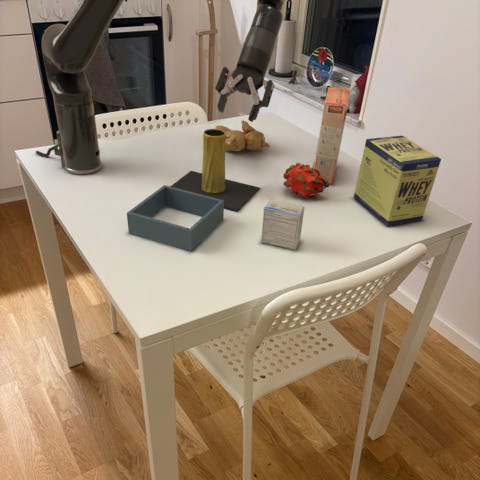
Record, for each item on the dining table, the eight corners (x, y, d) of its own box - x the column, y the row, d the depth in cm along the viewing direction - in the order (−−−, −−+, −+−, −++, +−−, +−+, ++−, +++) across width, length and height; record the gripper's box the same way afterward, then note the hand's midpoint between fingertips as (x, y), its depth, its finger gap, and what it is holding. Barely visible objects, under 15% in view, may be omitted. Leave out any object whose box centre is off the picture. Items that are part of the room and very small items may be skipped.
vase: (200, 183, 132) (201, 127, 123) (224, 183, 133) (226, 128, 124) (201, 194, 128) (202, 136, 119) (226, 194, 128) (228, 137, 119)
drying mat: (164, 192, 128) (164, 190, 128) (191, 172, 138) (191, 170, 138) (237, 211, 123) (237, 210, 122) (259, 189, 133) (259, 187, 132)
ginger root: (271, 156, 146) (266, 128, 141) (216, 166, 148) (210, 139, 143) (269, 138, 158) (265, 111, 153) (219, 147, 160) (213, 121, 155)
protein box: (387, 227, 121) (404, 163, 111) (352, 198, 131) (364, 137, 121) (423, 221, 124) (443, 159, 114) (386, 193, 135) (401, 133, 125)
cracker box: (333, 186, 136) (348, 104, 123) (311, 182, 137) (323, 101, 124) (336, 165, 147) (350, 88, 134) (315, 162, 148) (327, 85, 134)
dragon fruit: (278, 193, 135) (321, 209, 133) (274, 186, 127) (319, 203, 125) (291, 162, 134) (334, 177, 132) (287, 153, 126) (333, 169, 124)
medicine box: (300, 241, 114) (305, 205, 108) (295, 251, 110) (300, 214, 105) (266, 233, 115) (269, 198, 110) (260, 243, 112) (263, 207, 107)
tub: (128, 233, 113) (126, 212, 109) (165, 204, 124) (164, 184, 120) (191, 251, 108) (191, 231, 105) (223, 220, 119) (224, 200, 116)
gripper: (286, 65, 130) (263, 128, 133) (235, 51, 134) (215, 113, 136) (280, 52, 123) (256, 119, 126) (227, 38, 126) (205, 103, 129)
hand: (235, 116), depth 131 cm, fingers open, 8 cm apart
